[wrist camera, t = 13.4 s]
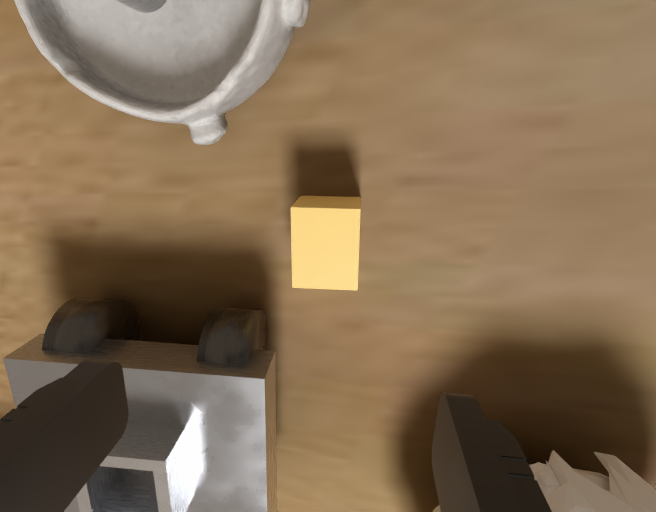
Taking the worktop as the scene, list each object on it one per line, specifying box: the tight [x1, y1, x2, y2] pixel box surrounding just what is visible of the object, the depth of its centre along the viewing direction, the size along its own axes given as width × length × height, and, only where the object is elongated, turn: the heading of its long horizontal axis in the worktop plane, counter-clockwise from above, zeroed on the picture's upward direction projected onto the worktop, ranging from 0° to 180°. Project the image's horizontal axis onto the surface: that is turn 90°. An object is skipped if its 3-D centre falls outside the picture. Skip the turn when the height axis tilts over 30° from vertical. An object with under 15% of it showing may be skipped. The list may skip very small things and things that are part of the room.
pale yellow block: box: [291, 196, 361, 290], centre depth 25 cm, size 4×5×4 cm
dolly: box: [3, 298, 277, 512], centre depth 28 cm, size 16×18×10 cm
